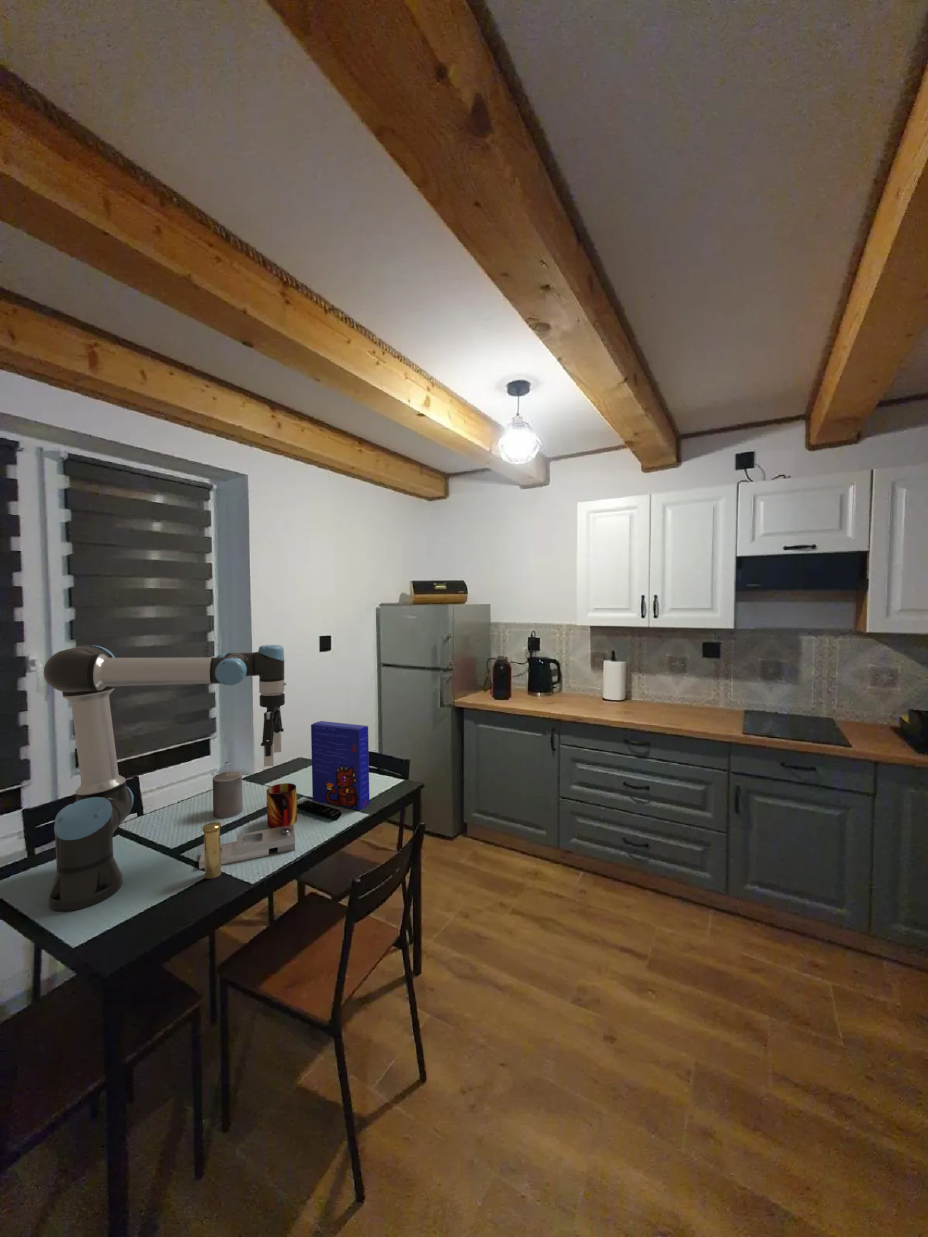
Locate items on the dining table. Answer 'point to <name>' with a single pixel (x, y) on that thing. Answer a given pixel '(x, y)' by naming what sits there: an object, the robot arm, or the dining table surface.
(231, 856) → the slotted metal plate
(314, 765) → the cereal box
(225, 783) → the pillar candle
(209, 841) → the brass pin
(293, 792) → the mug
